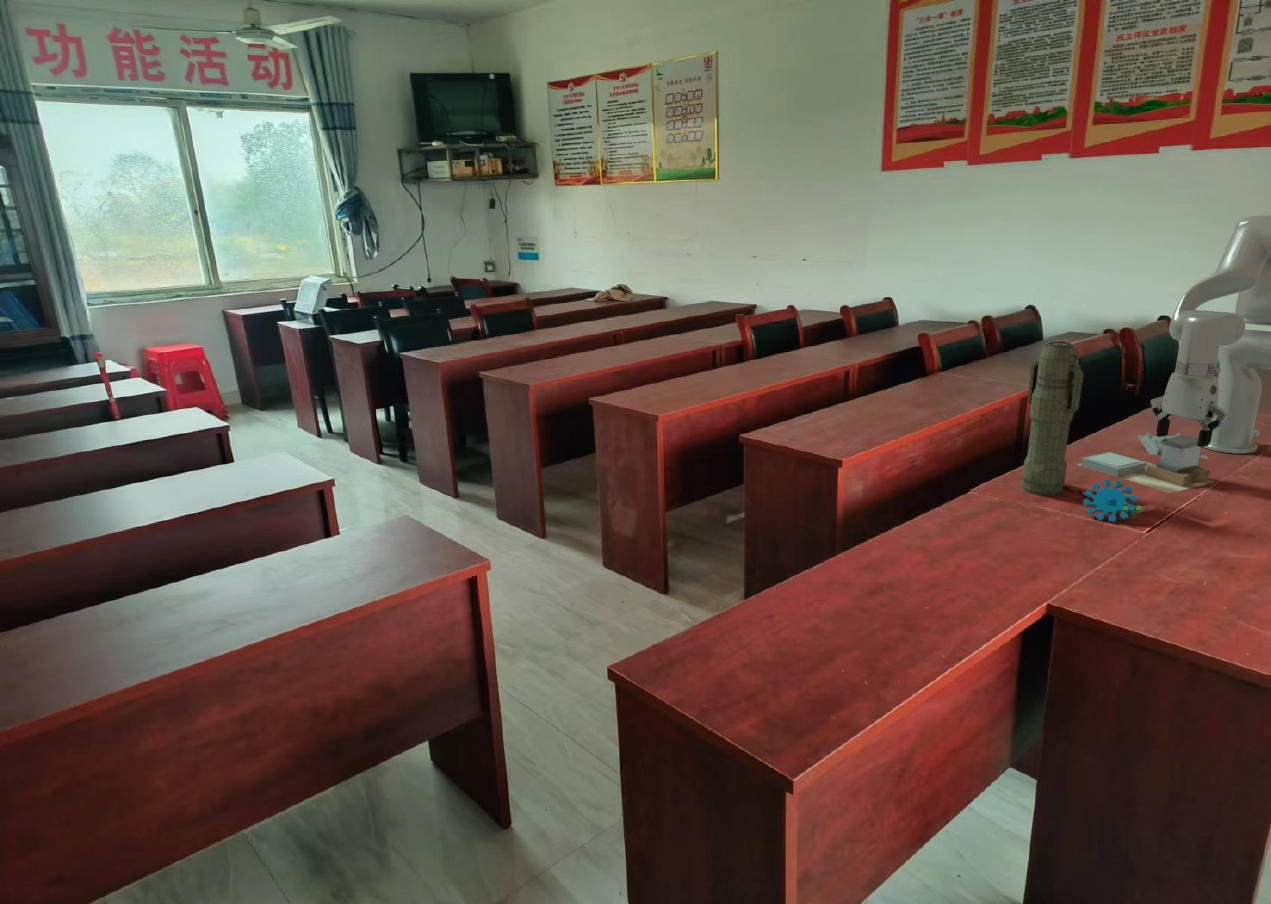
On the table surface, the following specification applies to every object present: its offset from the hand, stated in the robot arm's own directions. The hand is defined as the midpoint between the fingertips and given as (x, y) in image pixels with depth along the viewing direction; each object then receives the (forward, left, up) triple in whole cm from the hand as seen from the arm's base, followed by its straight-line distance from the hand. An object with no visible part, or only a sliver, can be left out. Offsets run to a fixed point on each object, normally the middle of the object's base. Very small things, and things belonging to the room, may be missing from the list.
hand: (1181, 441), depth 187 cm
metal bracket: (-19, -15, -11) cm, 26 cm away
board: (+2, -6, -10) cm, 12 cm away
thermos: (+30, -11, -11) cm, 34 cm away
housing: (-1, 0, -7) cm, 7 cm away
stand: (-1, 0, -9) cm, 9 cm away
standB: (+5, -12, -9) cm, 16 cm away
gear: (+32, +8, -11) cm, 35 cm away
